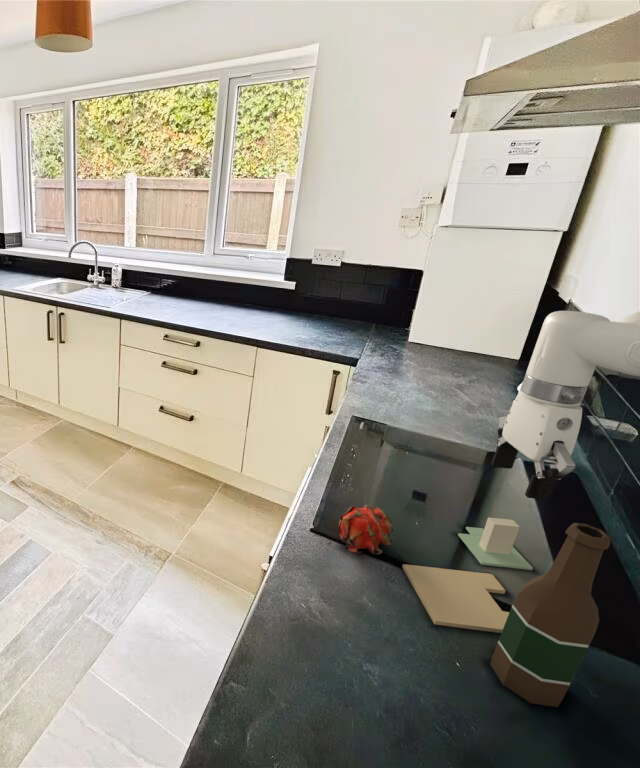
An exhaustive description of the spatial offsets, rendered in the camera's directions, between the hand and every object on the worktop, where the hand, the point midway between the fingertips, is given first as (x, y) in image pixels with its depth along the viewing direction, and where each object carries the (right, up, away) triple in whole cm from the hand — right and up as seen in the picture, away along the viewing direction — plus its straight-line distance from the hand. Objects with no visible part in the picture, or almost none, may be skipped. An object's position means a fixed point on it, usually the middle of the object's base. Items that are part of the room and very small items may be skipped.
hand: (517, 481), depth 79 cm
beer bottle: (-15, -22, -19) cm, 33 cm away
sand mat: (-14, -18, -7) cm, 24 cm away
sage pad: (-1, -14, +5) cm, 15 cm away
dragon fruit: (-24, -13, +5) cm, 28 cm away
